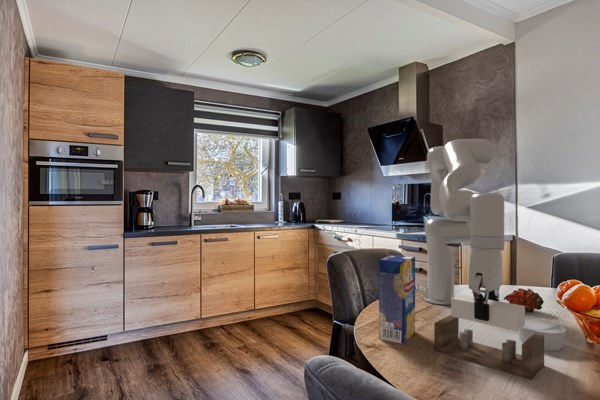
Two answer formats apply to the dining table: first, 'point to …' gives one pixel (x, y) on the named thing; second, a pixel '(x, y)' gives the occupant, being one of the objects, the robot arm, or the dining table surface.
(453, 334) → the peg frame
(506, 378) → the dining table surface
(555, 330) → the ramekin
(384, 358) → the dining table surface
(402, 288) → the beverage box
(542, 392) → the dining table surface
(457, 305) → the shelf board
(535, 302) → the dragon fruit
